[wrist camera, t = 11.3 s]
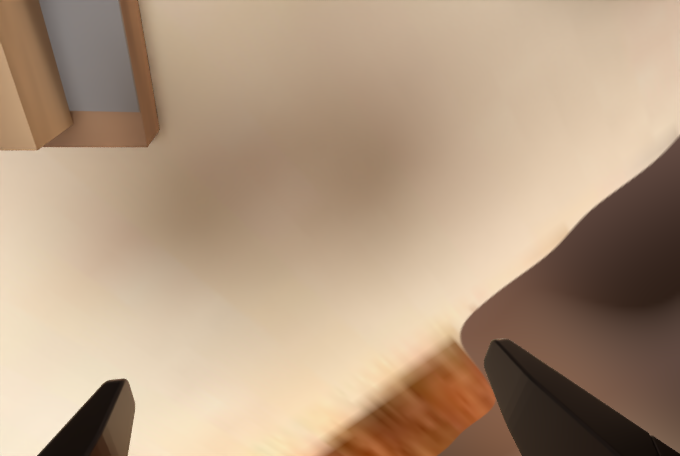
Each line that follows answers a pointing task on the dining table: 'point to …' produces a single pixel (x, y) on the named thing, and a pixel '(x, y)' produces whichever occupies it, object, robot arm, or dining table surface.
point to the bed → (102, 72)
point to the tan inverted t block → (28, 79)
